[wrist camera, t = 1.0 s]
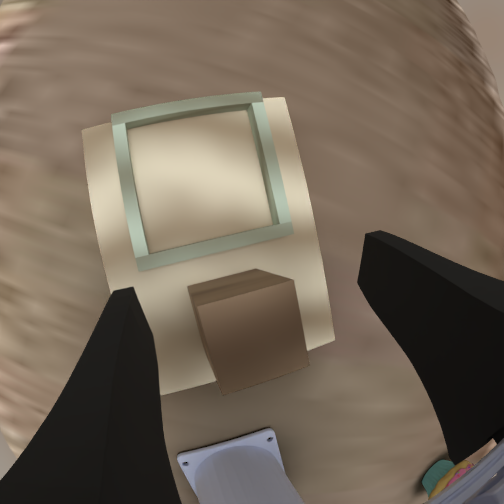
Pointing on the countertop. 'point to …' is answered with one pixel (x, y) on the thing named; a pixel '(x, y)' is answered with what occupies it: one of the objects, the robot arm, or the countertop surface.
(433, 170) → the countertop surface
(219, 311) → the walnut block
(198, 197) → the board
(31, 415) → the countertop surface
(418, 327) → the robot arm
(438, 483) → the cupcake
